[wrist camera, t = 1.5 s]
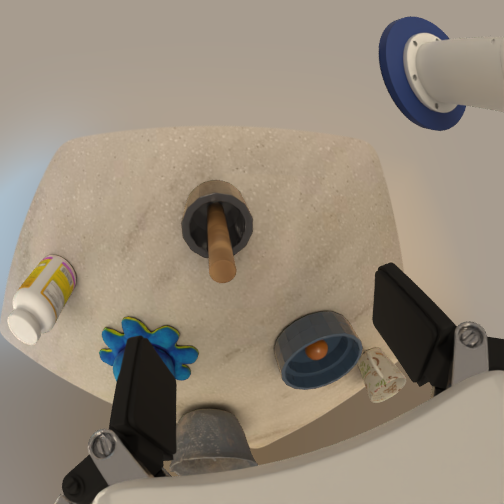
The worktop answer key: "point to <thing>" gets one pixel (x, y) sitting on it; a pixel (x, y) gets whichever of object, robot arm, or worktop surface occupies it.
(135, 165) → the worktop surface
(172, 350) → the plush toy
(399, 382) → the mug
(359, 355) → the mixing bowl
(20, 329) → the supplement bottle
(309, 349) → the bead
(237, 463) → the grey bucket
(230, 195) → the holder
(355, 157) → the worktop surface
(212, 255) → the stick
